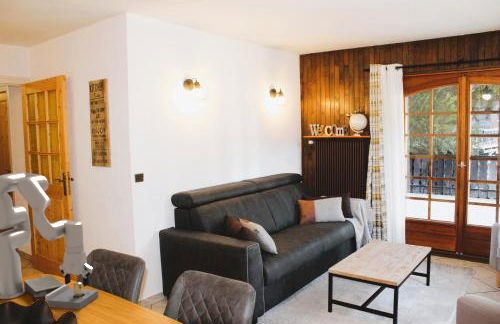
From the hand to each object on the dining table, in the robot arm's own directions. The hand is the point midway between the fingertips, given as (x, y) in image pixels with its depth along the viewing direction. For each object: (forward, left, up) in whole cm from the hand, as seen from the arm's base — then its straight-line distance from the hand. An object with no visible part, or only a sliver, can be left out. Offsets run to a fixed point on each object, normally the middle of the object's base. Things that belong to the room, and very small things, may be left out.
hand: (76, 284), depth 198 cm
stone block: (-25, +7, -9) cm, 27 cm away
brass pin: (+1, 0, -8) cm, 8 cm away
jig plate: (-3, 0, -8) cm, 9 cm away
